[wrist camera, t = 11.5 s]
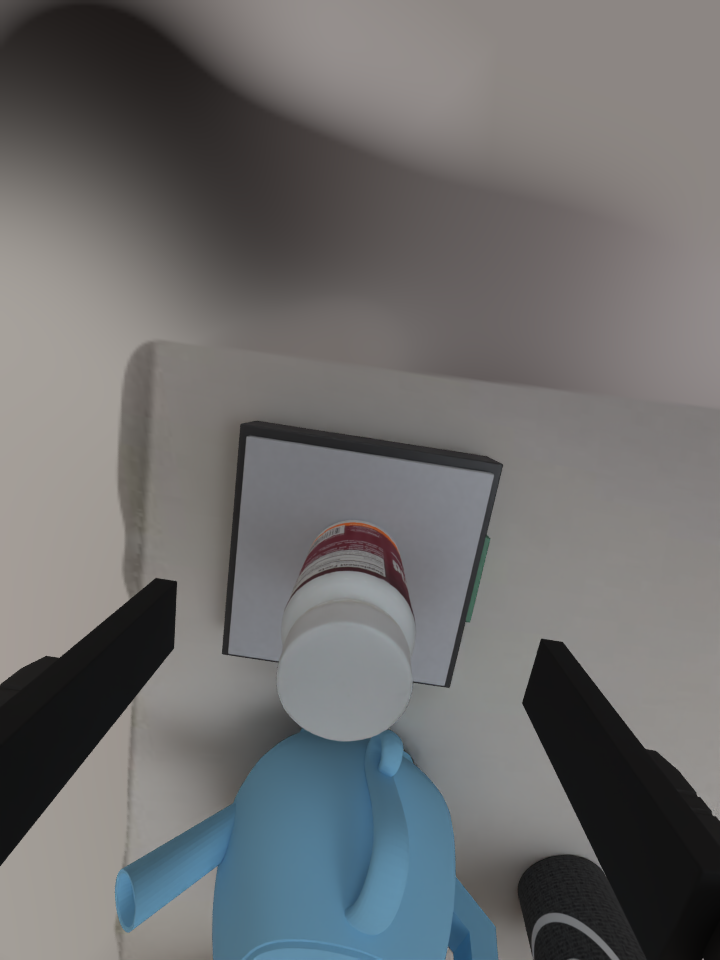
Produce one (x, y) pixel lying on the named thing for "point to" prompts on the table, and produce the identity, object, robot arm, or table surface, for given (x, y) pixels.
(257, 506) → the scale
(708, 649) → the table surface
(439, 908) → the teapot
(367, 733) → the pill bottle
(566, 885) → the coffee cup
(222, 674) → the table surface
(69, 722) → the robot arm
